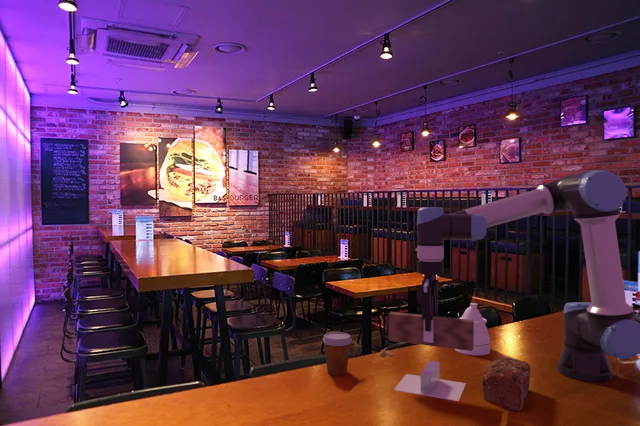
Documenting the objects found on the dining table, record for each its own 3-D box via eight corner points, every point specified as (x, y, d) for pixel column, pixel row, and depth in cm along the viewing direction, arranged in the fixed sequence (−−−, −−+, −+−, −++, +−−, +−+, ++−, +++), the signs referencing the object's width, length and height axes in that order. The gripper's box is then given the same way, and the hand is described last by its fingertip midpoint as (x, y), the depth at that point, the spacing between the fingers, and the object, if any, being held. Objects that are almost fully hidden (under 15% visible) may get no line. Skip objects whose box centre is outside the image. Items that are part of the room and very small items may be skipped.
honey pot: (495, 355, 164) (495, 306, 164) (460, 355, 164) (460, 306, 164) (483, 345, 176) (483, 299, 176) (450, 344, 177) (450, 299, 177)
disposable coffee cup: (355, 369, 149) (355, 333, 149) (345, 379, 140) (345, 341, 140) (329, 365, 153) (329, 330, 153) (317, 374, 144) (317, 337, 144)
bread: (522, 414, 116) (522, 376, 116) (480, 405, 122) (480, 368, 122) (531, 390, 132) (531, 356, 132) (493, 383, 137) (493, 350, 137)
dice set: (391, 360, 160) (391, 354, 160) (377, 358, 162) (377, 352, 162) (395, 356, 165) (395, 351, 165) (382, 354, 167) (382, 349, 167)
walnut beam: (473, 348, 127) (473, 319, 127) (472, 351, 124) (472, 322, 124) (391, 337, 137) (391, 311, 137) (388, 340, 134) (388, 313, 134)
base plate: (465, 388, 133) (465, 383, 133) (458, 406, 120) (458, 401, 120) (406, 378, 141) (406, 373, 141) (393, 395, 128) (393, 389, 128)
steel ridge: (439, 380, 135) (439, 362, 135) (431, 394, 124) (431, 375, 124) (429, 378, 136) (429, 360, 136) (420, 393, 126) (420, 373, 126)
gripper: (423, 257, 139) (423, 332, 139) (410, 262, 125) (410, 346, 125) (448, 258, 136) (447, 335, 136) (437, 263, 122) (437, 349, 122)
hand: (429, 340), depth 130 cm, fingers closed on walnut beam, 3 cm apart
